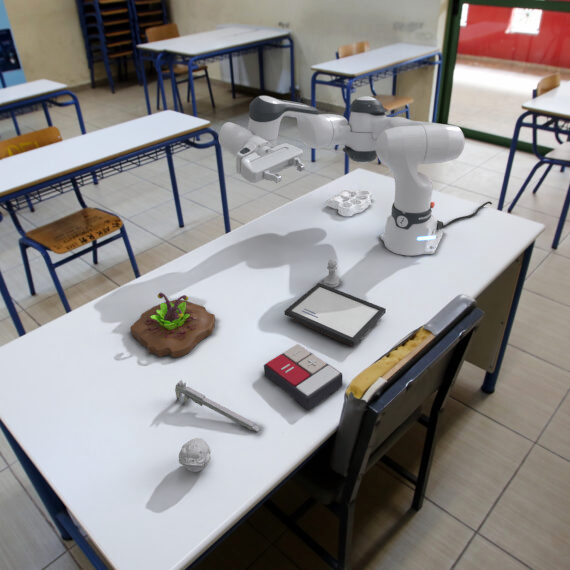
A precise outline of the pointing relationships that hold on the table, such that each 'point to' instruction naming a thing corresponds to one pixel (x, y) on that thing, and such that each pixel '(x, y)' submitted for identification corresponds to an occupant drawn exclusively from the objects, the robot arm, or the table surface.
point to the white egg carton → (350, 202)
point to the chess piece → (331, 275)
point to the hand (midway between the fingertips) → (291, 174)
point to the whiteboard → (335, 313)
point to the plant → (173, 327)
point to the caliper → (211, 405)
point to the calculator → (303, 376)
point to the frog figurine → (195, 455)
